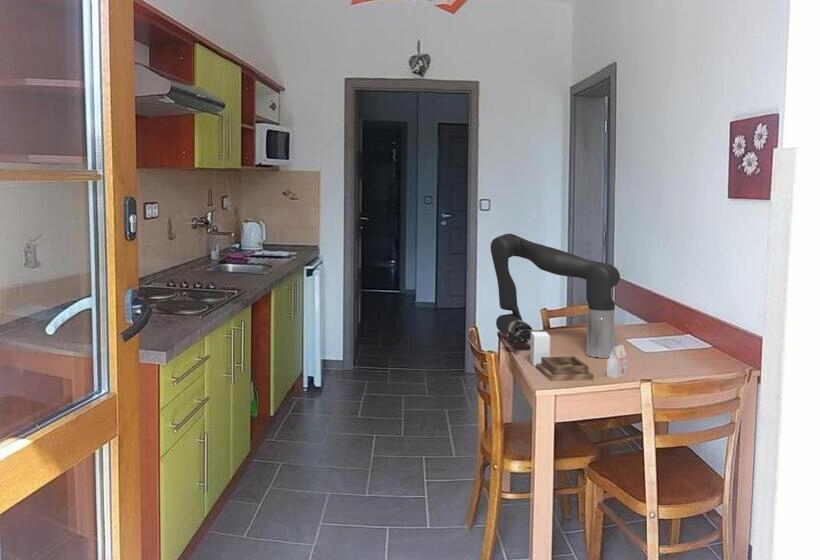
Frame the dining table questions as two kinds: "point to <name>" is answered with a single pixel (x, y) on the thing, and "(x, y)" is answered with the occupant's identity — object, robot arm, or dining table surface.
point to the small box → (539, 347)
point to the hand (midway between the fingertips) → (532, 340)
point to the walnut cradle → (564, 368)
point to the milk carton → (617, 362)
